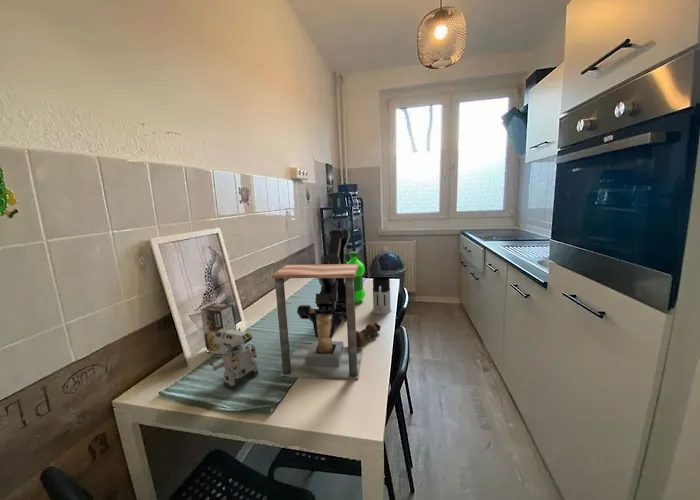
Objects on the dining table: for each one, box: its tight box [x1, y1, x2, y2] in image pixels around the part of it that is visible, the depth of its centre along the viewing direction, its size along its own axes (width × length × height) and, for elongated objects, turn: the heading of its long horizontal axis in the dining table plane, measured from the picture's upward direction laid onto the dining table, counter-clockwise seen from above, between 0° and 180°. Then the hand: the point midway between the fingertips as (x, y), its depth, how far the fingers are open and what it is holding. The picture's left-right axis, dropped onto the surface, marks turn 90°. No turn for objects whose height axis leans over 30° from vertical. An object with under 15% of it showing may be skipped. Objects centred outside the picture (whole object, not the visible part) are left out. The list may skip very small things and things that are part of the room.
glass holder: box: [372, 276, 393, 315], centre depth 131 cm, size 9×14×15 cm, turn 170°
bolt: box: [356, 322, 381, 347], centre depth 107 cm, size 6×5×15 cm
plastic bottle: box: [345, 251, 366, 304], centre depth 146 cm, size 10×10×25 cm
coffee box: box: [200, 302, 237, 355], centre depth 103 cm, size 9×6×16 cm
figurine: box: [209, 328, 259, 391], centre depth 85 cm, size 9×12×15 cm
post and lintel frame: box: [271, 263, 364, 380], centre depth 91 cm, size 18×23×31 cm
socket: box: [306, 340, 345, 366], centre depth 95 cm, size 10×10×4 cm
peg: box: [317, 314, 333, 354], centre depth 94 cm, size 4×4×13 cm
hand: (323, 337), depth 93 cm, fingers closed on peg, 4 cm apart
